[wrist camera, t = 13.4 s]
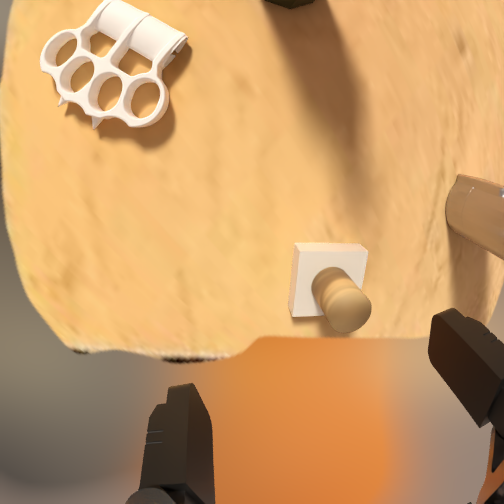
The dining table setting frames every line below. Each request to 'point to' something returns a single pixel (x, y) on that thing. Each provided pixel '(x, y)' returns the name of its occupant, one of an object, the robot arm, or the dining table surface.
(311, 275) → the white base
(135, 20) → the white holed flat part
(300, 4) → the wine bottle
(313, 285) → the ochre cylinder
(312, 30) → the dining table surface
